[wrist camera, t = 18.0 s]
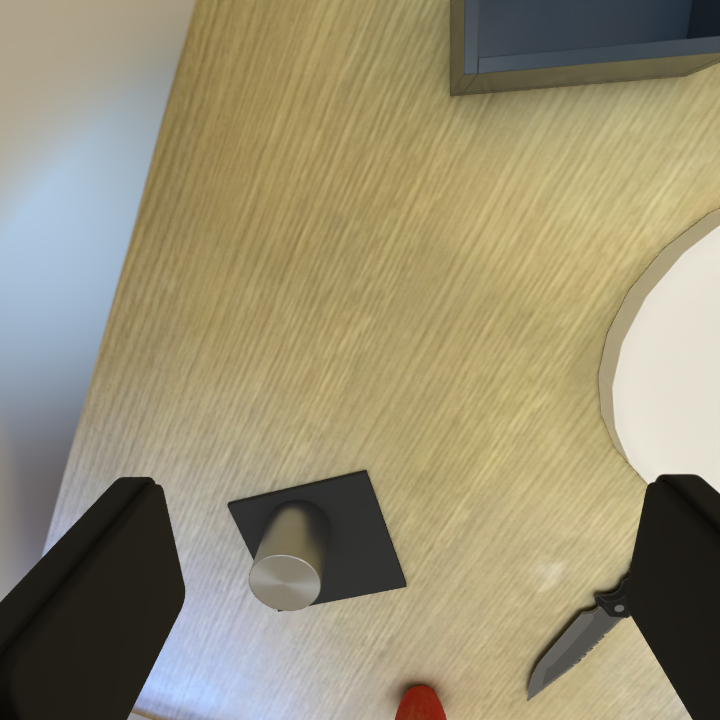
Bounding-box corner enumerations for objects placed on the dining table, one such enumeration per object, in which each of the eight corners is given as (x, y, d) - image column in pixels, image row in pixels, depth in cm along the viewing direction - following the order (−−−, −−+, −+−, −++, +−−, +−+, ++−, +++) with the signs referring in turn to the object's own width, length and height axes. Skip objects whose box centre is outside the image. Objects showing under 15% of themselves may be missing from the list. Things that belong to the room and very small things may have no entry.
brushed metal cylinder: (281, 555, 45) (264, 616, 38) (259, 507, 43) (237, 563, 37) (338, 543, 44) (330, 604, 38) (318, 493, 42) (306, 548, 36)
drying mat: (279, 607, 48) (278, 611, 48) (228, 502, 44) (227, 505, 43) (406, 583, 46) (406, 587, 46) (366, 469, 42) (366, 472, 41)
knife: (499, 685, 50) (537, 701, 51) (501, 694, 49) (540, 711, 50) (654, 518, 42) (698, 539, 42) (660, 525, 41) (705, 547, 41)
